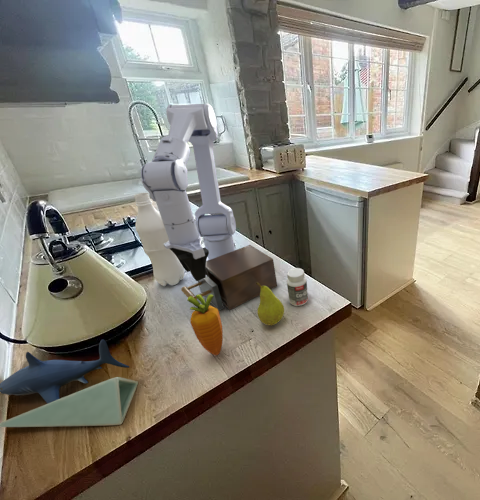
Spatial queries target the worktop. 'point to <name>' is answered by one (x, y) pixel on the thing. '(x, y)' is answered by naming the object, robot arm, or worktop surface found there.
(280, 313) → the fruit
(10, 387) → the toy
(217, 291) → the drawer
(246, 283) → the cabinet
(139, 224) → the water bottle
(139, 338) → the worktop surface
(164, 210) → the robot arm
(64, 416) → the hollow green wedge
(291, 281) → the pill bottle
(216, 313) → the carrot
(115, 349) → the worktop surface
